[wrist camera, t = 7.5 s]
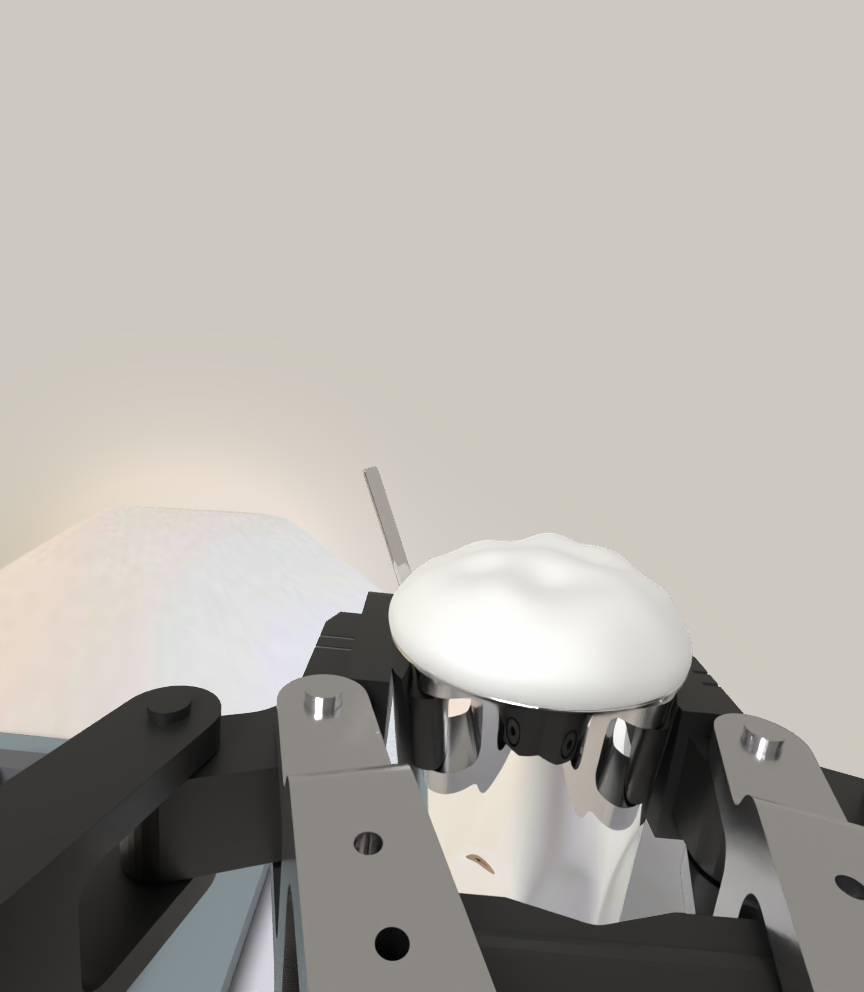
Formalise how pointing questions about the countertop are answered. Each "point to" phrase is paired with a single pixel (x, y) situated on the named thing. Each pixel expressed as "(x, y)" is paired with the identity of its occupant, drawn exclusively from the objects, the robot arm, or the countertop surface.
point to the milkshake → (534, 710)
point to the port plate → (206, 929)
